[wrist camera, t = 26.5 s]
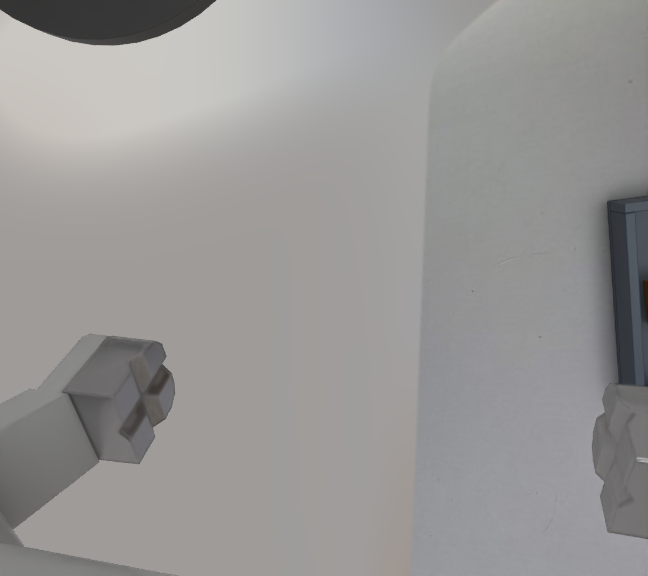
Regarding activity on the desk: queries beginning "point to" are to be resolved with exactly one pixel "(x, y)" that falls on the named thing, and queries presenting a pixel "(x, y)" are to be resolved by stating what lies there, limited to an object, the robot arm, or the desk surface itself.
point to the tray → (630, 286)
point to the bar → (646, 295)
